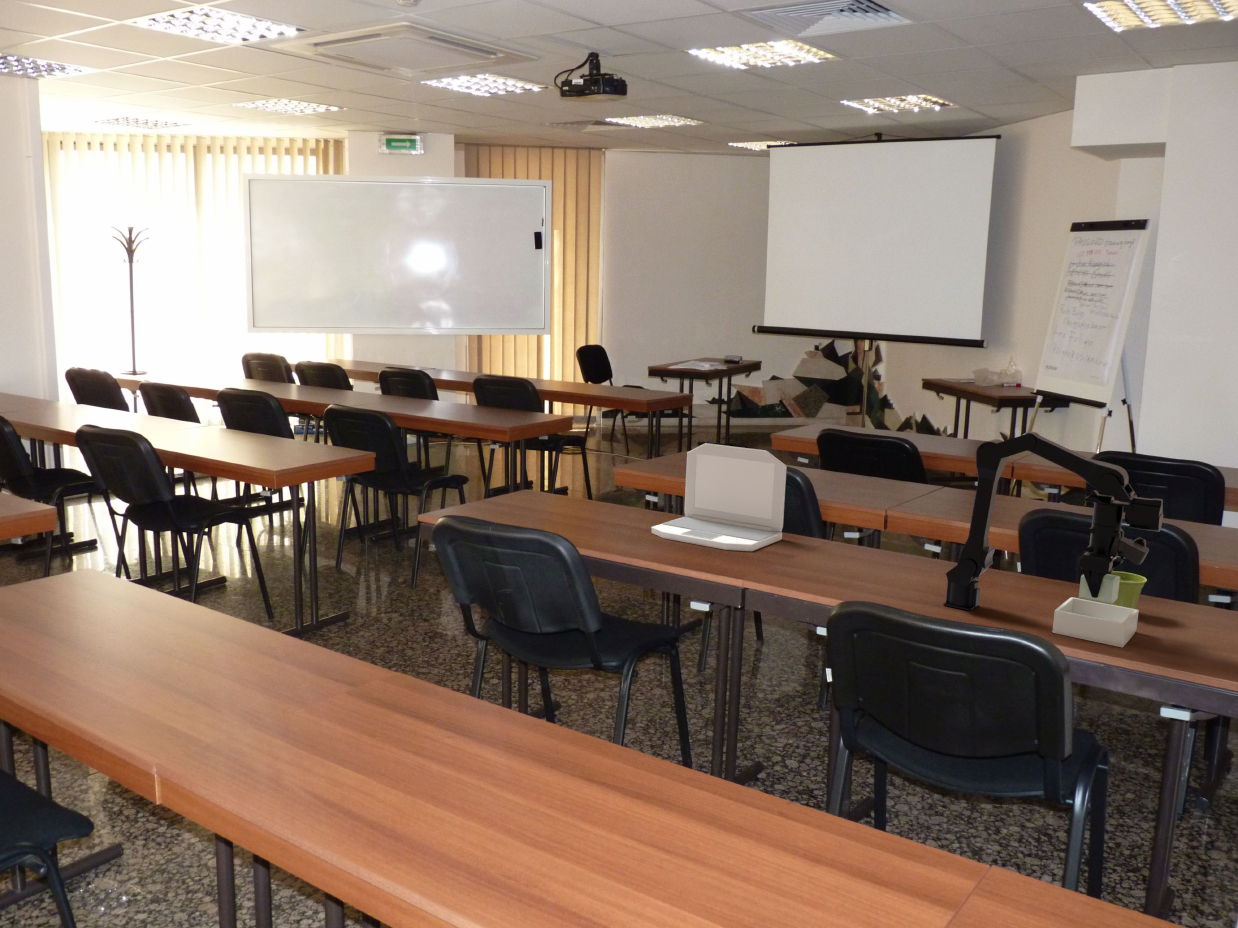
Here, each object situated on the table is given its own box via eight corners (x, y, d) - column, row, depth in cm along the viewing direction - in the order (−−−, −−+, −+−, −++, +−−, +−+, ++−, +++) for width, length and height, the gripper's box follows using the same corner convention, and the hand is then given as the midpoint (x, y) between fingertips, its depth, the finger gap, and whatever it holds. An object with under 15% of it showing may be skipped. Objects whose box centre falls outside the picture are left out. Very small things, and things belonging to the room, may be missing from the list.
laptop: (644, 536, 296) (648, 448, 292) (685, 523, 316) (689, 440, 312) (745, 554, 278) (750, 461, 274) (782, 540, 298) (787, 452, 294)
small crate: (1078, 598, 217) (1080, 576, 216) (1085, 592, 222) (1088, 570, 221) (1110, 604, 213) (1113, 582, 212) (1117, 598, 218) (1120, 576, 217)
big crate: (1052, 632, 217) (1054, 610, 216) (1068, 618, 228) (1071, 596, 227) (1122, 647, 209) (1125, 624, 208) (1136, 631, 220) (1138, 609, 219)
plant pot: (1147, 620, 229) (1152, 583, 228) (1103, 616, 231) (1108, 579, 230) (1135, 608, 238) (1139, 573, 237) (1093, 604, 240) (1097, 569, 239)
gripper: (1139, 537, 203) (1130, 611, 205) (1156, 523, 217) (1147, 593, 220) (1080, 528, 209) (1072, 600, 212) (1101, 515, 224) (1093, 583, 226)
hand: (1098, 594), depth 217 cm, fingers closed on small crate, 6 cm apart
